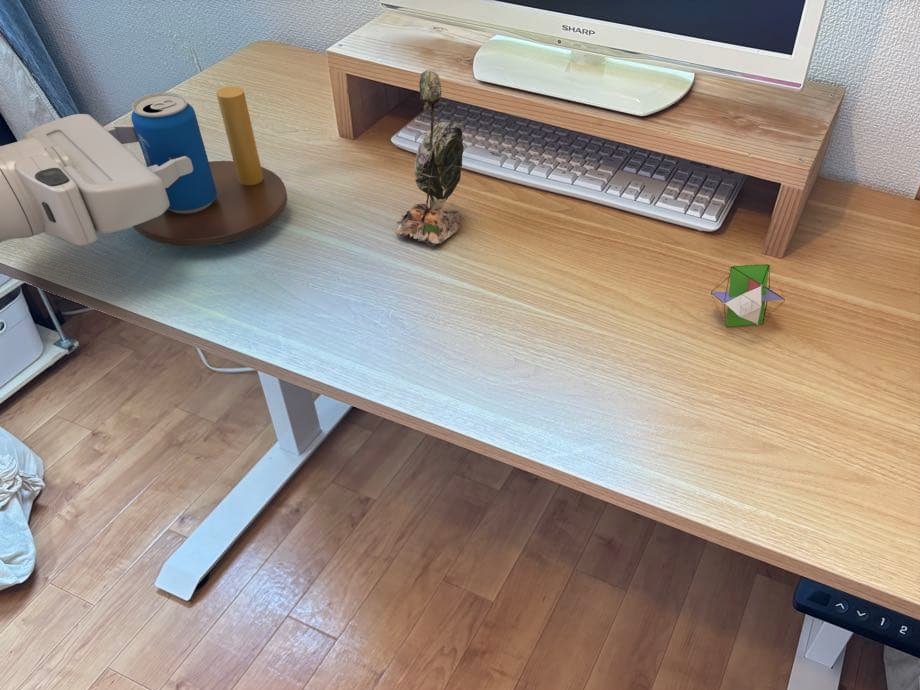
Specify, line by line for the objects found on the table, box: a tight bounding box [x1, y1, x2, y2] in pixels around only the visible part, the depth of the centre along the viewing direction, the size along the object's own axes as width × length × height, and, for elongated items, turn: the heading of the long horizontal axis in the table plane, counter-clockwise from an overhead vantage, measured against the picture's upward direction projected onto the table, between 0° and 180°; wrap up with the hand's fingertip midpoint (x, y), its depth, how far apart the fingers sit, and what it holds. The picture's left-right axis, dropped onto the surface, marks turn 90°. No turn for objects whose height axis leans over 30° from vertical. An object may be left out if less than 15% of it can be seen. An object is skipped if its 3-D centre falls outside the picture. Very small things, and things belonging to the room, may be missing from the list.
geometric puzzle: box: [709, 263, 787, 328], centre depth 84 cm, size 7×7×8 cm
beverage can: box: [130, 91, 217, 214], centre depth 89 cm, size 6×6×12 cm
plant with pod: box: [394, 69, 465, 247], centre depth 91 cm, size 8×11×20 cm
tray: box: [132, 85, 288, 248], centre depth 91 cm, size 18×18×12 cm
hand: (169, 145), depth 88 cm, fingers open, 8 cm apart
